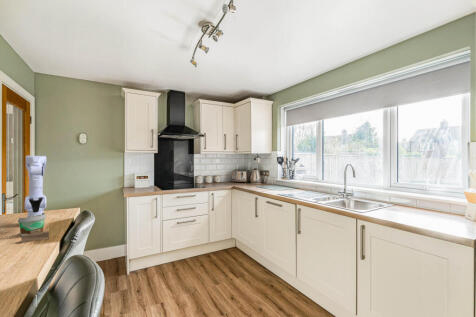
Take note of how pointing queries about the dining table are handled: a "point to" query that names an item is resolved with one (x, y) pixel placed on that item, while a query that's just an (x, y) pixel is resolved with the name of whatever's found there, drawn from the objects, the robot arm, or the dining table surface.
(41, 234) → the walnut bar
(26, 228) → the food container
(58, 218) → the dining table surface
